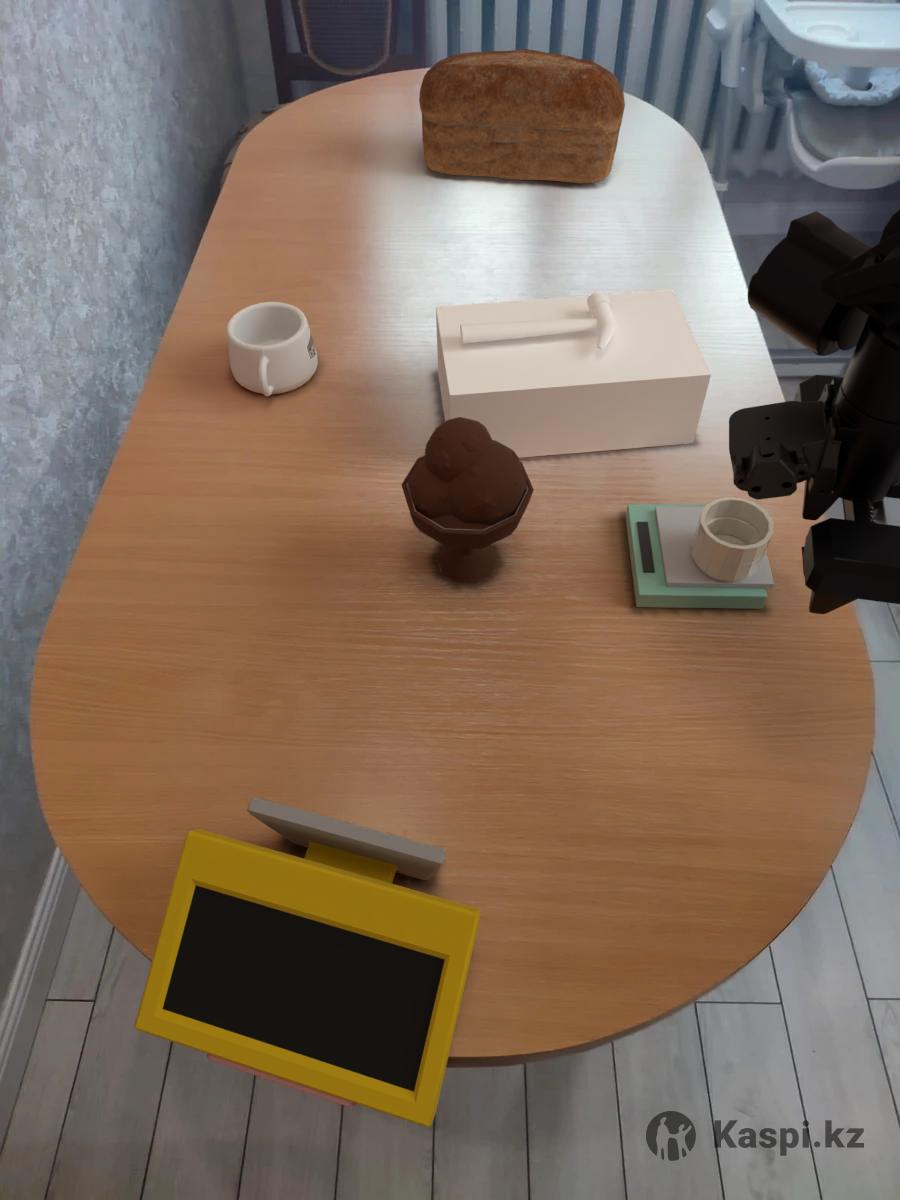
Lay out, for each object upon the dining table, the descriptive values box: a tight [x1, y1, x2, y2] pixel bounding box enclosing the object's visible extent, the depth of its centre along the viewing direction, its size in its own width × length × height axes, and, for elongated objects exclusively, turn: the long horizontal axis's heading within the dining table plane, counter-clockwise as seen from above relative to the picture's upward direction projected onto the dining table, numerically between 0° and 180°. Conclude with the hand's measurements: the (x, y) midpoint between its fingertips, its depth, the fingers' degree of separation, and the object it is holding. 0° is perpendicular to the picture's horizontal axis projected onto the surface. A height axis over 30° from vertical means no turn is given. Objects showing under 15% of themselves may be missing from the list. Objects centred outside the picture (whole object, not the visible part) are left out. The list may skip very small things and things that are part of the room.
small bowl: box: [691, 496, 774, 581], centre depth 77 cm, size 6×6×5 cm
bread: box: [418, 48, 626, 184], centre depth 123 cm, size 12×28×14 cm, turn 80°
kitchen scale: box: [624, 503, 775, 610], centre depth 81 cm, size 12×11×2 cm
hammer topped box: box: [435, 288, 712, 459], centre depth 91 cm, size 14×25×11 cm, turn 96°
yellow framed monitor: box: [134, 796, 482, 1128], centre depth 58 cm, size 20×8×16 cm
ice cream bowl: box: [400, 417, 534, 584], centre depth 77 cm, size 11×11×15 cm
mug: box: [226, 301, 319, 397], centre depth 97 cm, size 12×10×6 cm
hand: (812, 563), depth 66 cm, fingers open, 9 cm apart
